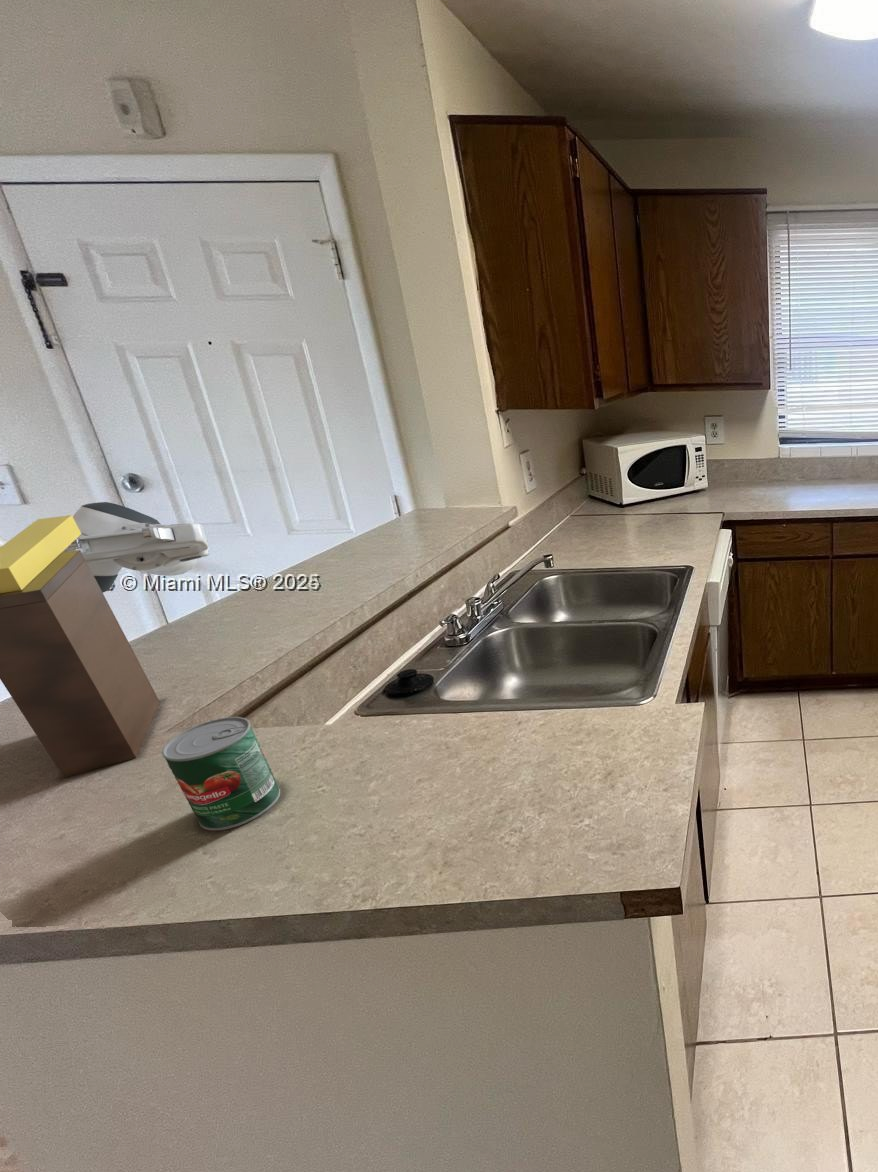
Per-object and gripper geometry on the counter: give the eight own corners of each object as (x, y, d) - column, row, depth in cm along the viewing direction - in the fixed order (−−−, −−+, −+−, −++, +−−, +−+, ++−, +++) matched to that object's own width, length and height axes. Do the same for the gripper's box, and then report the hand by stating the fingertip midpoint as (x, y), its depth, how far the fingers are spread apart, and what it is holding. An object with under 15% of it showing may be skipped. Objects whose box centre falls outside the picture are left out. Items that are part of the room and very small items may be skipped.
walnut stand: (63, 777, 81) (-49, 604, 71) (97, 717, 93) (5, 560, 82) (136, 757, 85) (40, 589, 74) (160, 701, 97) (80, 549, 86)
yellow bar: (-22, 597, 72) (-37, 574, 71) (47, 538, 90) (37, 519, 89) (22, 590, 74) (8, 567, 73) (81, 533, 92) (71, 514, 91)
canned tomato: (192, 840, 72) (151, 768, 67) (207, 799, 78) (170, 730, 74) (277, 814, 76) (244, 743, 71) (284, 776, 82) (254, 709, 77)
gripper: (59, 541, 108) (11, 529, 96) (211, 522, 119) (185, 509, 107) (69, 575, 109) (22, 568, 97) (220, 554, 119) (195, 545, 107)
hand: (109, 537), depth 102 cm, fingers open, 8 cm apart
